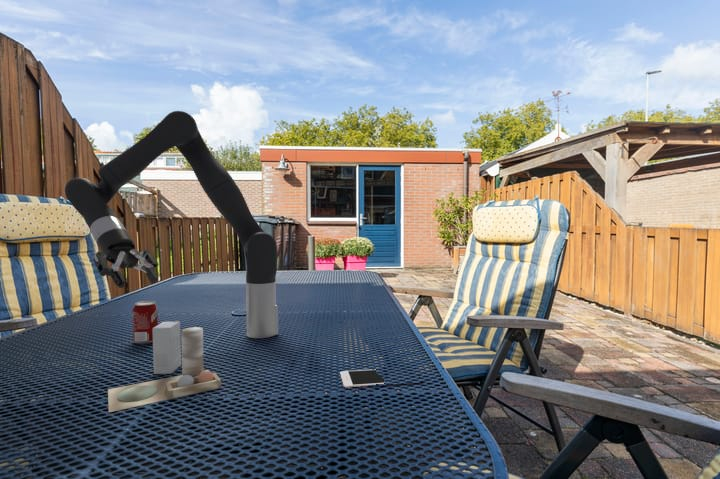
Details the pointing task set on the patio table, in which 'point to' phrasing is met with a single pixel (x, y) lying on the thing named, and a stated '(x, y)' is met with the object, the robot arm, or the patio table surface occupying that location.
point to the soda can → (144, 321)
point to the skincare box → (166, 347)
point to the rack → (168, 386)
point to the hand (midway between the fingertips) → (139, 283)
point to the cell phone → (360, 378)
